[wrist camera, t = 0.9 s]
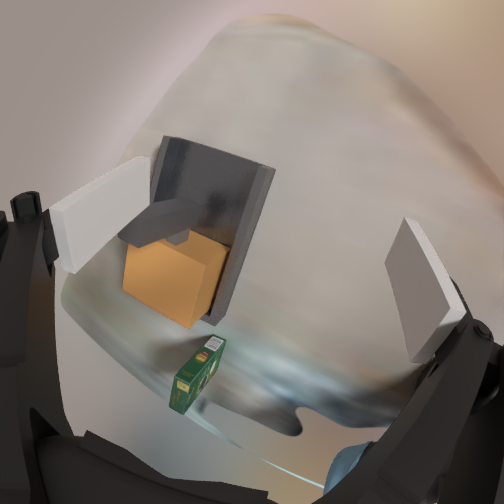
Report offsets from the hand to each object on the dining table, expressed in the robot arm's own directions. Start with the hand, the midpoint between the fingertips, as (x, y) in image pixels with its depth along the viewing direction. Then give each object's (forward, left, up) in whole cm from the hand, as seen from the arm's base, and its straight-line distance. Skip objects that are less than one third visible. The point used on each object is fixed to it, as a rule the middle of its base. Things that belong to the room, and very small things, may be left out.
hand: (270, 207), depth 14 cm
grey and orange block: (-9, +18, -24) cm, 31 cm away
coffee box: (-29, +17, -25) cm, 42 cm away
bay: (-7, +18, -25) cm, 31 cm away
